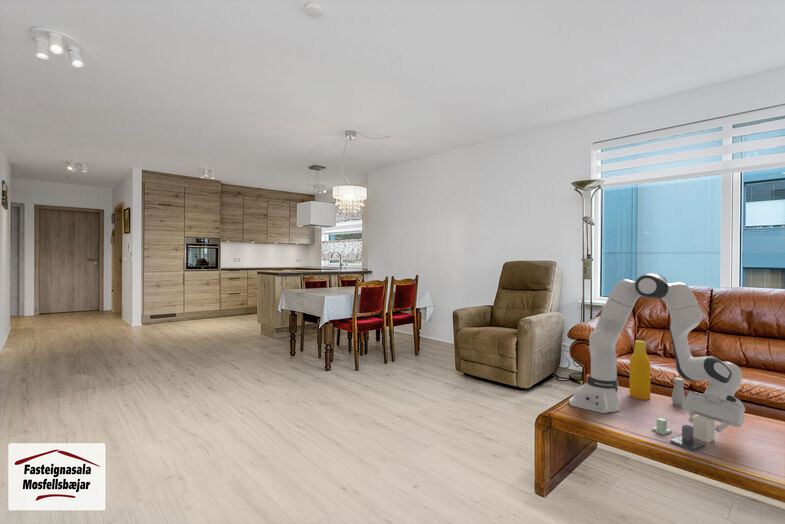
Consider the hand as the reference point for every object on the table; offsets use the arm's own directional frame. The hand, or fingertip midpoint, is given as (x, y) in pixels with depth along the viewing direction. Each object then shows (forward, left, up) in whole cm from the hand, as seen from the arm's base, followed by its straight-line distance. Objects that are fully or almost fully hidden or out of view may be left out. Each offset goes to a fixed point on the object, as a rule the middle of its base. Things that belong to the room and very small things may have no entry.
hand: (704, 426), depth 160 cm
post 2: (-6, -9, -5) cm, 12 cm away
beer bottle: (-20, +43, -5) cm, 48 cm away
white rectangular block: (0, 0, -5) cm, 5 cm away
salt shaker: (-4, +39, -5) cm, 40 cm away
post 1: (-14, 0, -5) cm, 15 cm away
